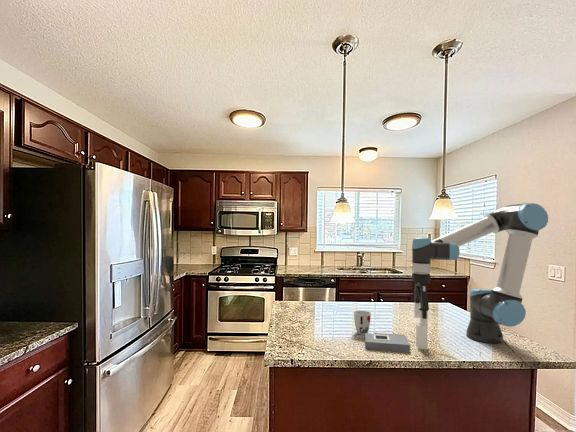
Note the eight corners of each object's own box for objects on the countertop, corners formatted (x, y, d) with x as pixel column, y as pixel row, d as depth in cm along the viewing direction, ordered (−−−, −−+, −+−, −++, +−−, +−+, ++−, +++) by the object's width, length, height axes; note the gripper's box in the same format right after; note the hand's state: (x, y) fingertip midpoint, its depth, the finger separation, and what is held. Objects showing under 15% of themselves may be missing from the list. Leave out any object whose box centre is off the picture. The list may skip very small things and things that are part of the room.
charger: (425, 346, 145) (425, 323, 146) (427, 349, 141) (427, 325, 142) (416, 345, 146) (415, 322, 146) (417, 348, 142) (417, 325, 142)
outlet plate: (405, 342, 150) (405, 335, 150) (409, 352, 138) (409, 344, 138) (365, 339, 153) (364, 332, 153) (365, 348, 142) (365, 341, 142)
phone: (404, 337, 159) (404, 334, 159) (407, 342, 152) (407, 339, 152) (374, 335, 162) (374, 332, 162) (375, 340, 155) (375, 337, 155)
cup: (358, 336, 158) (358, 315, 159) (351, 331, 166) (351, 311, 167) (373, 334, 160) (373, 314, 161) (365, 329, 168) (365, 310, 169)
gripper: (407, 269, 158) (407, 313, 157) (417, 276, 133) (416, 329, 133) (424, 269, 156) (423, 315, 156) (437, 277, 132) (436, 330, 131)
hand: (420, 321), depth 144 cm, fingers open, 13 cm apart
